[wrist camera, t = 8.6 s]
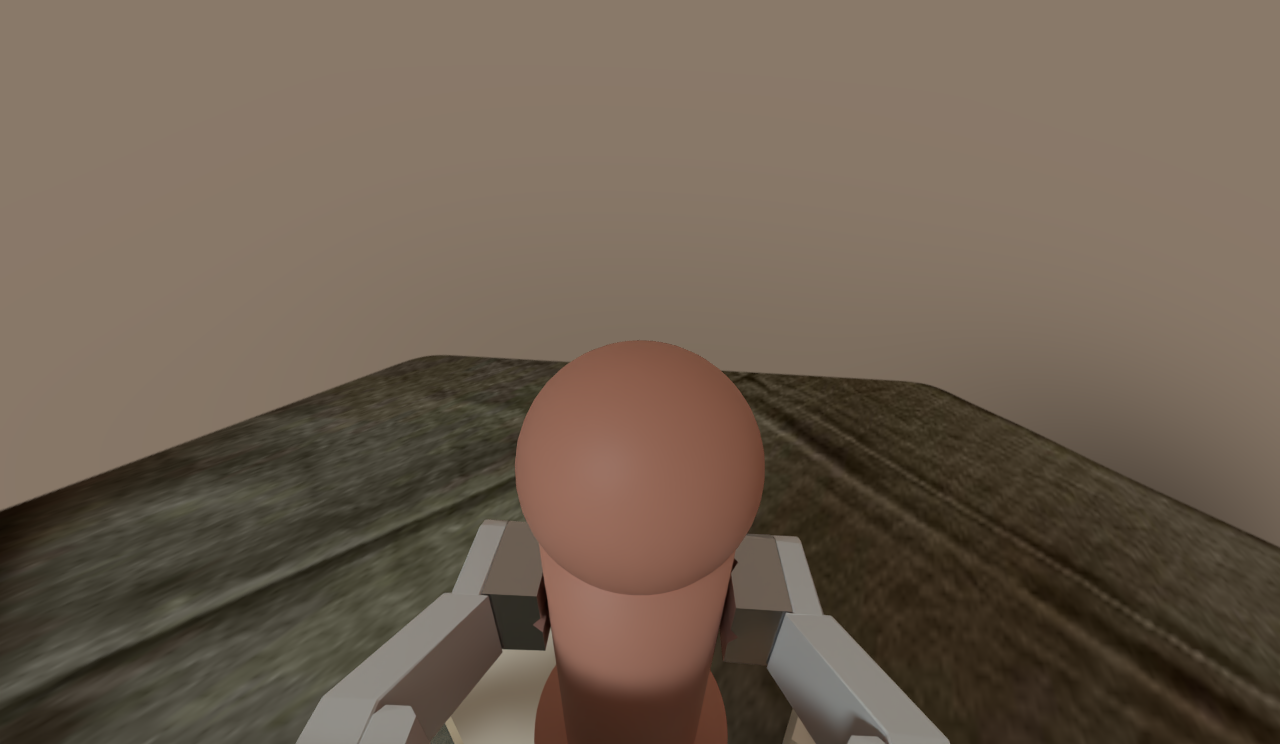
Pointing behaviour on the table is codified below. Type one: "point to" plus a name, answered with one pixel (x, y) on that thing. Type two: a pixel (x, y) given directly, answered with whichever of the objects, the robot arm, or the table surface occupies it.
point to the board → (504, 699)
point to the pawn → (637, 539)
